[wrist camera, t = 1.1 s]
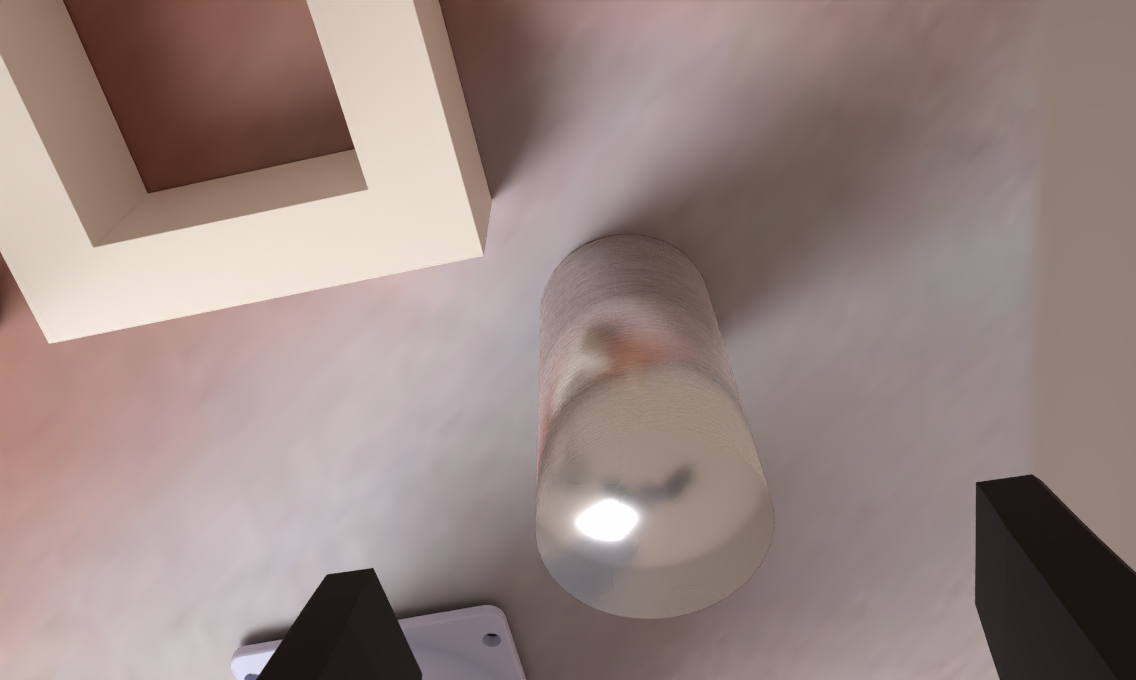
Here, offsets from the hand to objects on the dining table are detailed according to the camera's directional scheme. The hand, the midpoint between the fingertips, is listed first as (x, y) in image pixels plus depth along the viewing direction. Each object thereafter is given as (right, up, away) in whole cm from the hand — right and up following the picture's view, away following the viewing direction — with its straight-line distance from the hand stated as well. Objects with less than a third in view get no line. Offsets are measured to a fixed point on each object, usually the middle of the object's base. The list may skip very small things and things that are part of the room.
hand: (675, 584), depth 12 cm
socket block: (-8, +9, +9) cm, 15 cm away
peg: (0, +4, +12) cm, 12 cm away
